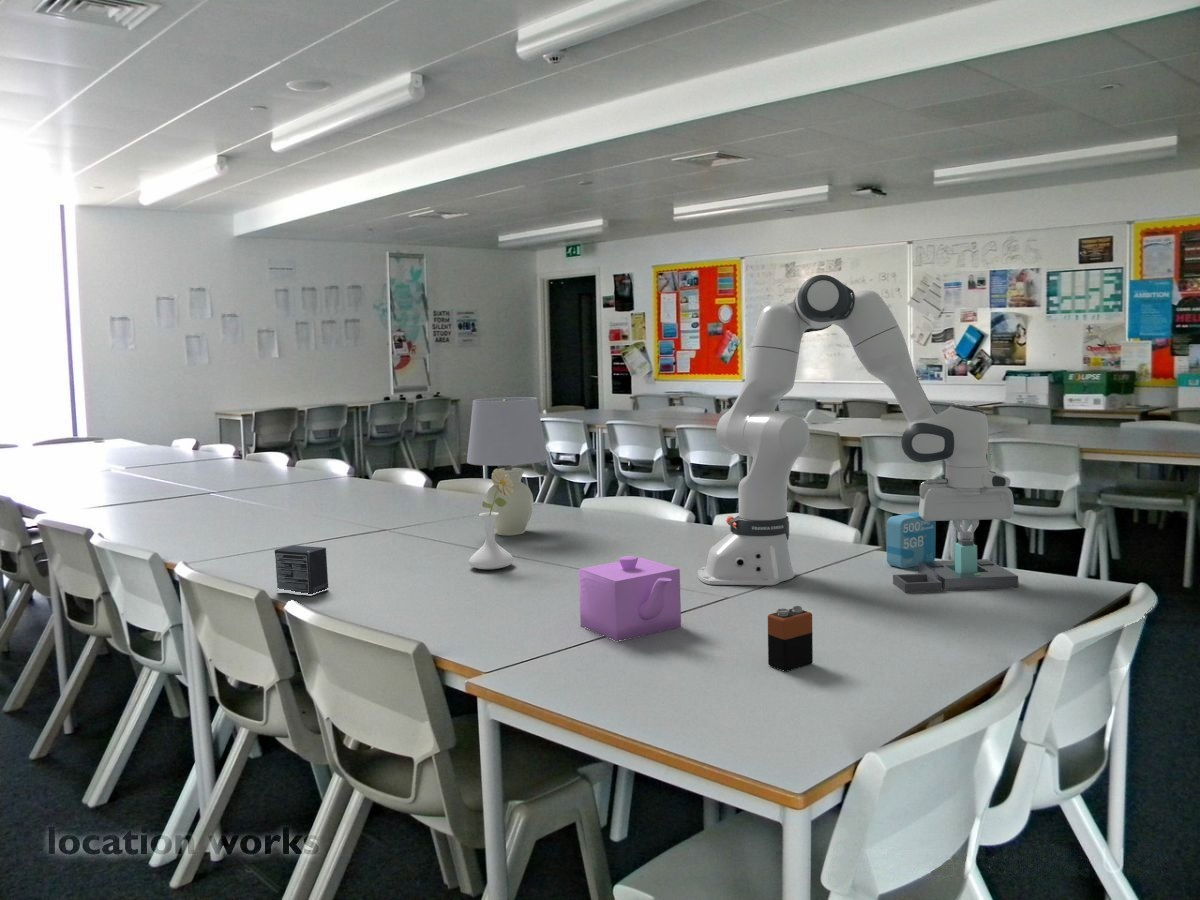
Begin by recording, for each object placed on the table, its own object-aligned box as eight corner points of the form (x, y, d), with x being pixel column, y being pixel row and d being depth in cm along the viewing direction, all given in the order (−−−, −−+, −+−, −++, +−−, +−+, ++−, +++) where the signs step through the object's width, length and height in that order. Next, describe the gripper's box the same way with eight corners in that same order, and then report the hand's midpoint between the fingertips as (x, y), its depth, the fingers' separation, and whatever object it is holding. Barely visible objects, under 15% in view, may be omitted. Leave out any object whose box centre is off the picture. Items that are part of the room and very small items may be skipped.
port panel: (944, 590, 205) (944, 577, 205) (918, 572, 221) (918, 560, 221) (1018, 587, 205) (1018, 575, 205) (986, 569, 221) (986, 558, 221)
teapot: (638, 652, 171) (636, 576, 170) (568, 620, 192) (565, 552, 191) (704, 636, 179) (702, 563, 178) (629, 607, 200) (627, 542, 199)
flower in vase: (485, 575, 232) (480, 474, 229) (460, 568, 240) (455, 470, 238) (528, 565, 240) (524, 468, 238) (502, 559, 249) (497, 464, 246)
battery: (766, 666, 162) (766, 609, 161) (795, 657, 166) (795, 602, 164) (785, 673, 158) (784, 614, 157) (814, 664, 162) (813, 607, 161)
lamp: (548, 539, 271) (542, 400, 267) (464, 542, 272) (457, 403, 267) (553, 523, 295) (548, 395, 290) (476, 526, 295) (470, 398, 291)
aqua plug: (961, 581, 212) (960, 543, 210) (955, 577, 215) (954, 539, 214) (977, 580, 212) (977, 542, 210) (970, 576, 215) (970, 538, 214)
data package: (900, 569, 224) (900, 519, 223) (886, 566, 228) (886, 517, 227) (935, 562, 230) (936, 513, 229) (921, 559, 234) (921, 511, 233)
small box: (330, 590, 223) (327, 546, 221) (311, 597, 217) (308, 552, 216) (296, 586, 227) (293, 543, 226) (276, 593, 221) (273, 549, 220)
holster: (905, 592, 204) (905, 583, 204) (892, 583, 212) (892, 574, 212) (941, 591, 204) (941, 582, 204) (928, 582, 212) (928, 573, 212)
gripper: (924, 481, 207) (923, 543, 209) (1017, 478, 207) (1016, 541, 209) (914, 477, 214) (914, 537, 215) (1005, 475, 214) (1004, 535, 215)
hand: (965, 539), depth 212 cm, fingers closed
